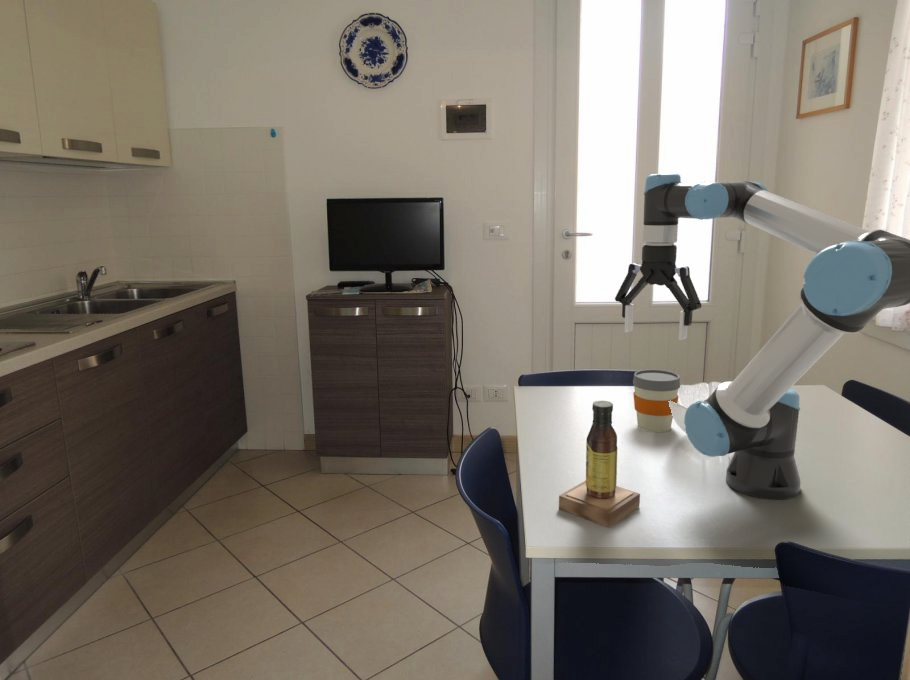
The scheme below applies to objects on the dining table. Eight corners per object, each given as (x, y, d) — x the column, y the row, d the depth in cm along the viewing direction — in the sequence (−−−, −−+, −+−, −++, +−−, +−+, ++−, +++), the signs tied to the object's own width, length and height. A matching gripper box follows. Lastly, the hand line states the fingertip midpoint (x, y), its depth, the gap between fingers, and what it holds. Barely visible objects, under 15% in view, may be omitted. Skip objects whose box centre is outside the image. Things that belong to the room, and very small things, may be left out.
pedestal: (639, 506, 140) (640, 492, 140) (609, 527, 132) (609, 512, 131) (590, 490, 148) (590, 476, 148) (558, 508, 140) (559, 494, 139)
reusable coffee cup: (687, 429, 185) (690, 377, 182) (652, 437, 180) (654, 383, 176) (655, 416, 196) (658, 367, 193) (621, 423, 191) (623, 372, 187)
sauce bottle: (594, 484, 144) (597, 395, 140) (621, 492, 140) (625, 401, 136) (579, 495, 139) (581, 403, 135) (606, 503, 135) (610, 409, 131)
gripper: (720, 245, 146) (714, 339, 151) (618, 240, 163) (615, 326, 167) (706, 247, 141) (700, 345, 145) (602, 242, 157) (599, 331, 162)
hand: (654, 335), depth 156 cm, fingers open, 13 cm apart
